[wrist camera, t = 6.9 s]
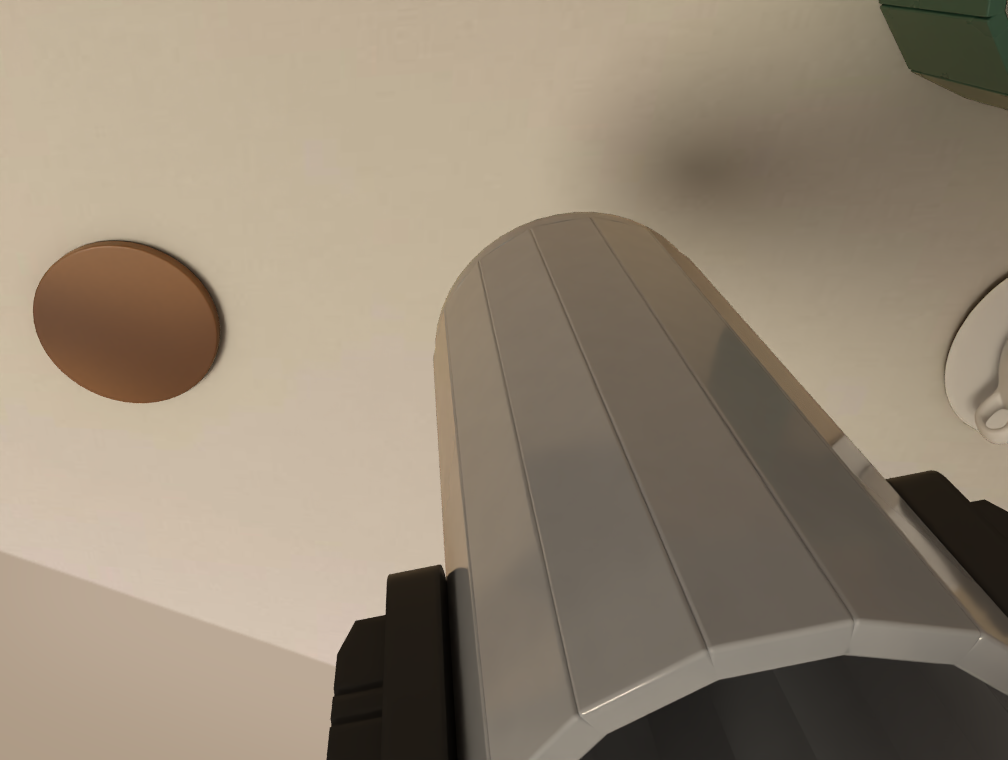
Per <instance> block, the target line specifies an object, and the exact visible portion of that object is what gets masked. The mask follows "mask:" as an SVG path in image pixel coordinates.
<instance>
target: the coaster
mask: <svg viewBox="0 0 1008 760" xmlns="http://www.w3.org/2000/svg"><path fill="white" fill-rule="evenodd" d="M33 317H34V324H35V328H36V332H37V335H38V337H39V340H40V342H41V344H42V346H43V348H44V350H45V351H46V353H47V355H48V356H49V357H50V359H51V360H52V361H53V363H54V364H55V365H56V366H57V367H58V368H59V369H60V370H61V371H62V372H63V373H64V374H66V375H67V376H68V377H69V378H70V379H72V380H73V381H74V382H76V383H77V384H79V385H80V386H82V387H84V388H86V389H88V390H89V391H91V392H94V393H96V394H98V395H101V396H103V397H107V398H110V399H113V400H118V401H123V402H131V403H151V402H159V401H163V400H167V399H170V398H173V397H176V396H179V395H181V394H182V393H184V392H186V391H188V390H189V389H191V388H192V387H194V386H195V385H196V384H197V383H198V382H199V381H200V380H201V379H202V378H203V377H204V376H205V375H206V373H207V372H208V371H209V369H210V367H211V365H212V363H213V361H214V359H215V357H216V354H217V351H218V348H219V343H220V322H219V317H218V313H217V310H216V307H215V305H214V302H213V300H212V298H211V296H210V295H209V293H208V291H207V290H206V288H205V287H204V286H203V284H202V283H201V282H200V280H199V279H198V278H197V277H196V276H195V275H194V274H193V273H192V272H191V271H190V270H189V269H188V268H186V267H185V266H184V265H183V264H181V263H180V262H178V261H177V260H175V259H174V258H172V257H171V256H169V255H167V254H165V253H163V252H161V251H159V250H156V249H154V248H151V247H148V246H145V245H141V244H137V243H132V242H125V241H103V242H96V243H91V244H87V245H84V246H81V247H79V248H76V249H74V250H72V251H71V252H69V253H67V254H65V255H64V256H63V257H62V258H60V259H59V260H58V261H57V262H55V263H54V264H53V265H52V266H51V267H50V268H49V270H48V271H47V272H46V273H45V274H44V276H43V278H42V279H41V281H40V283H39V285H38V287H37V290H36V293H35V297H34V303H33Z"/></svg>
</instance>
